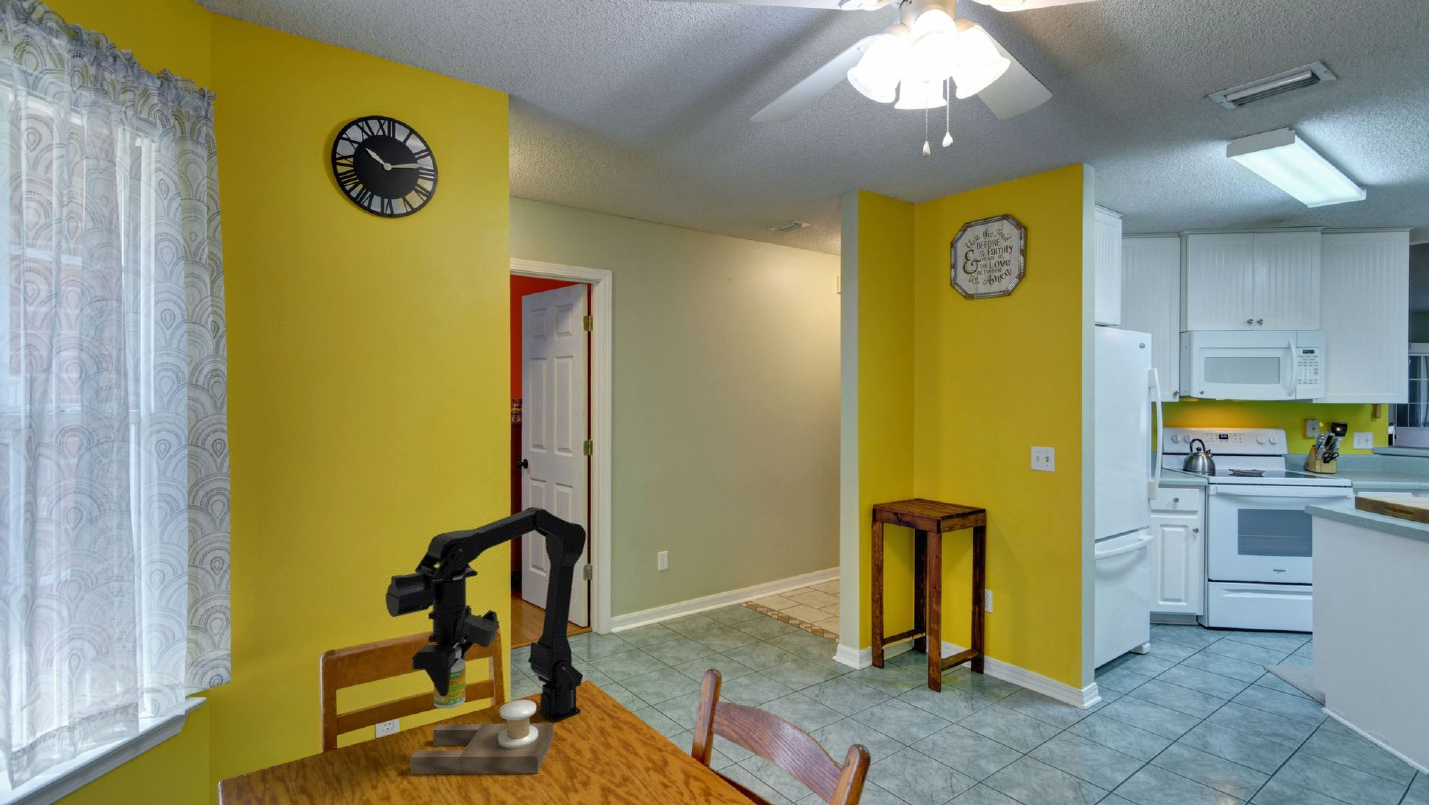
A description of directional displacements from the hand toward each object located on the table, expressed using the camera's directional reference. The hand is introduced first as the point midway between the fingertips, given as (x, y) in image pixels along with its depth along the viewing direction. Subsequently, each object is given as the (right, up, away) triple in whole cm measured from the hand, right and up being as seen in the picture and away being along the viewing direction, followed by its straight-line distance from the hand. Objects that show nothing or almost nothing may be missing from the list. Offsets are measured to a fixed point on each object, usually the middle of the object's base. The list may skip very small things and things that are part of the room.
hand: (449, 689), depth 124 cm
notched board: (+6, -12, 0) cm, 14 cm away
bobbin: (+12, -9, 0) cm, 16 cm away
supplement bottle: (0, -3, 0) cm, 3 cm away
